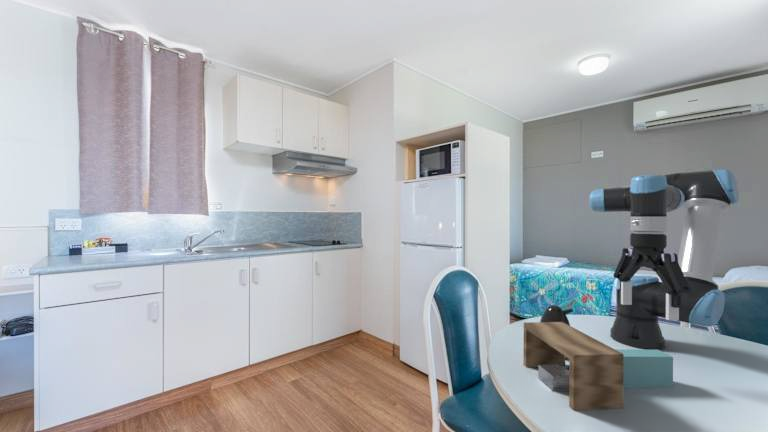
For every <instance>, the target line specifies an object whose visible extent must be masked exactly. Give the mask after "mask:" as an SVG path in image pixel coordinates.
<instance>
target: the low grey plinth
mask: <svg viewBox="0 0 768 432" xmlns="http://www.w3.org/2000/svg"><path fill="white" fill-rule="evenodd" d="M538 380H539V381H540V382H541V383H543V384H544V385H545V386H546V387H547V388H549V389H550V391H552V392H561V391H562V390H564V391H569V370H568V369H567V368H566V367H565V366H562V365H560V364H546V365H539V367H538Z"/></svg>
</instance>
